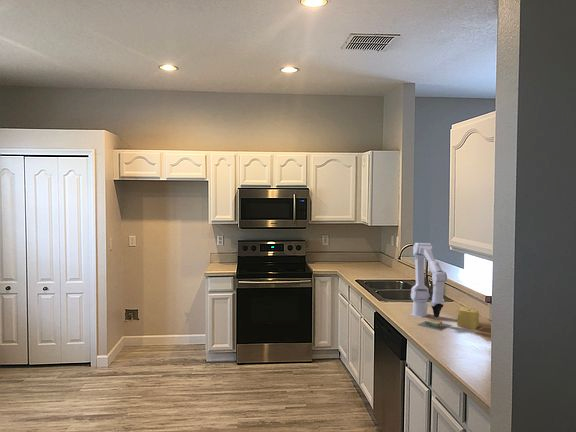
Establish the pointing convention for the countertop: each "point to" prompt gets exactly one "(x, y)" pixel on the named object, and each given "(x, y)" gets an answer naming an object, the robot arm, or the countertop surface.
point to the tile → (433, 323)
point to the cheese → (468, 318)
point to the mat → (436, 328)
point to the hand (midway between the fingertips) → (436, 316)
